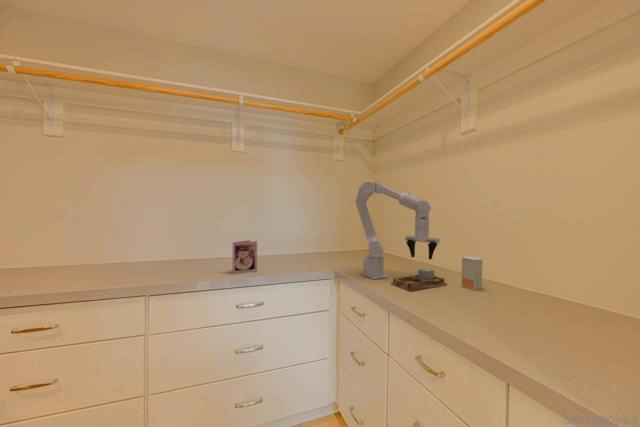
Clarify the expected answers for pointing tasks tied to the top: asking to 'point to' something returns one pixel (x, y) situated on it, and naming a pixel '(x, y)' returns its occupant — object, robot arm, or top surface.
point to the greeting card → (244, 257)
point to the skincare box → (472, 273)
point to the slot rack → (417, 283)
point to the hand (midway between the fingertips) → (421, 258)
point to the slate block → (426, 274)
